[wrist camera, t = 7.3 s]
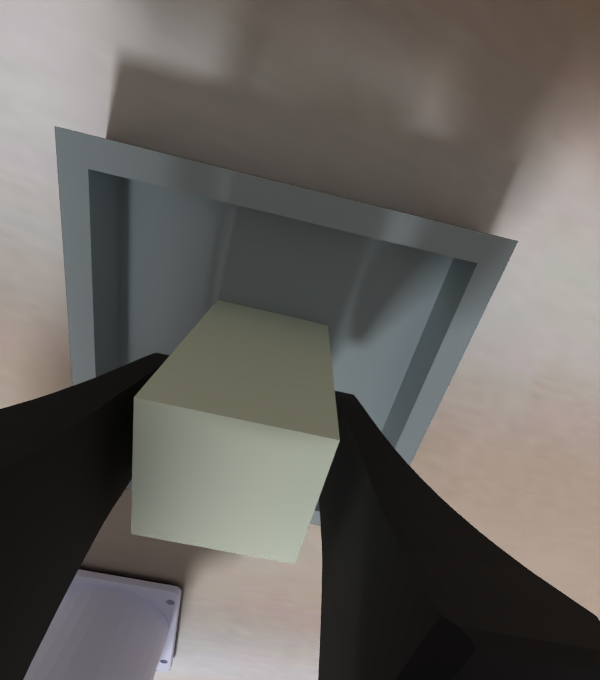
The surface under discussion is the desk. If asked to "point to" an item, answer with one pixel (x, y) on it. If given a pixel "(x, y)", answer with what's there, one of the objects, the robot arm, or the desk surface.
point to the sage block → (236, 435)
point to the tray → (267, 273)
